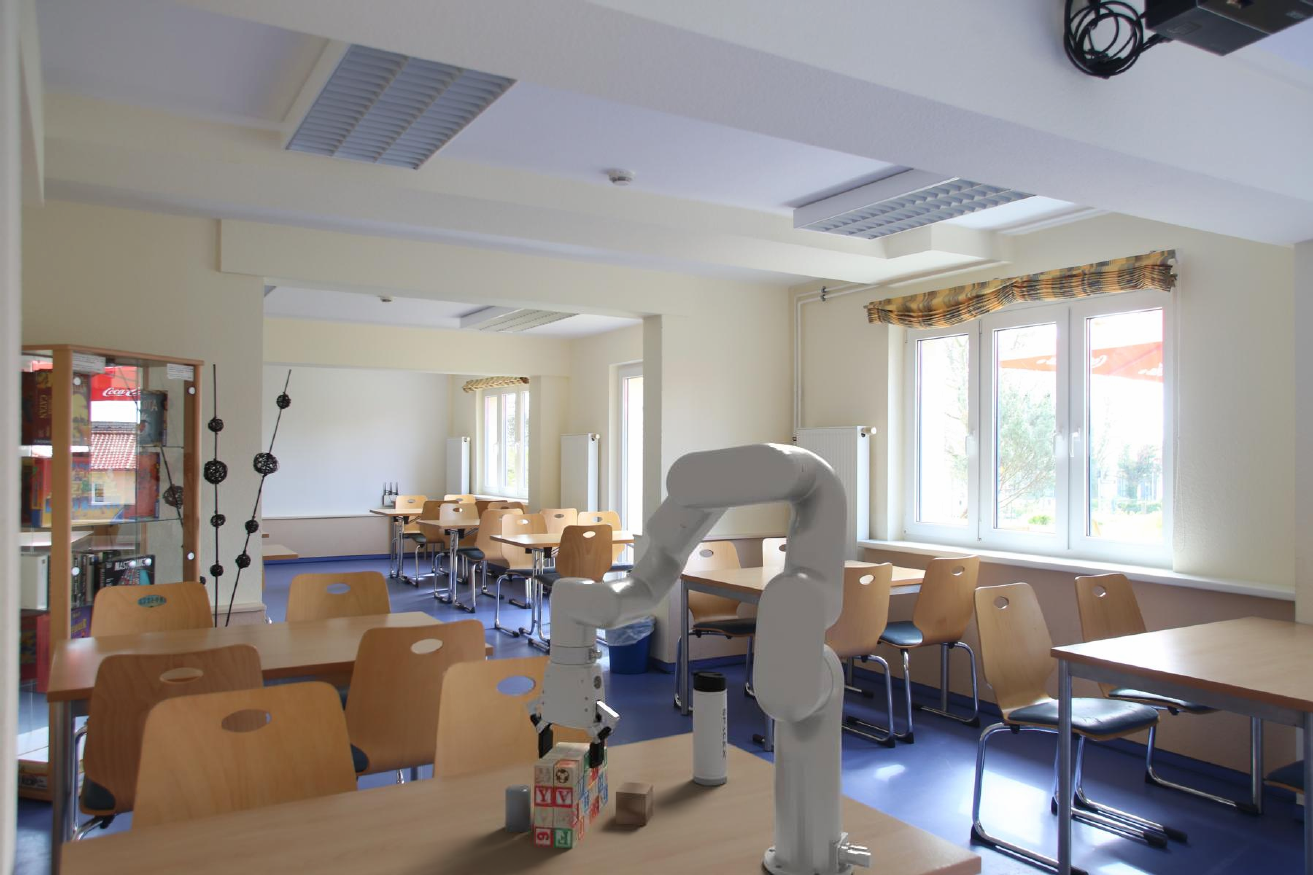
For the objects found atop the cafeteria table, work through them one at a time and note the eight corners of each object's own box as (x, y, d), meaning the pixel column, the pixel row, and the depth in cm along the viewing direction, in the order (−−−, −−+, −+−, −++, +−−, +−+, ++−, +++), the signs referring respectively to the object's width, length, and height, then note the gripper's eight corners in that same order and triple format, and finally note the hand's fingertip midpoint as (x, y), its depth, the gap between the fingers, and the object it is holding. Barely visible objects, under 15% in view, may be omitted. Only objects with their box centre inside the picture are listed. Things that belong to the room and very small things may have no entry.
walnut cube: (652, 814, 147) (652, 783, 148) (645, 825, 143) (646, 793, 143) (623, 812, 149) (623, 781, 149) (615, 823, 144) (615, 791, 144)
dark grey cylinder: (535, 825, 142) (535, 787, 143) (520, 834, 139) (521, 794, 139) (515, 821, 144) (515, 783, 145) (499, 829, 141) (500, 790, 141)
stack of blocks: (573, 798, 155) (573, 726, 156) (608, 800, 154) (608, 728, 155) (533, 846, 134) (533, 763, 135) (573, 849, 133) (573, 765, 134)
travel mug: (686, 777, 166) (686, 668, 168) (719, 773, 168) (719, 666, 170) (698, 787, 161) (697, 674, 162) (732, 783, 163) (731, 672, 164)
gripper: (630, 656, 145) (628, 763, 144) (542, 645, 153) (539, 747, 152) (606, 664, 138) (604, 776, 137) (516, 652, 146) (513, 758, 145)
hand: (570, 761), depth 145 cm, fingers open, 9 cm apart
